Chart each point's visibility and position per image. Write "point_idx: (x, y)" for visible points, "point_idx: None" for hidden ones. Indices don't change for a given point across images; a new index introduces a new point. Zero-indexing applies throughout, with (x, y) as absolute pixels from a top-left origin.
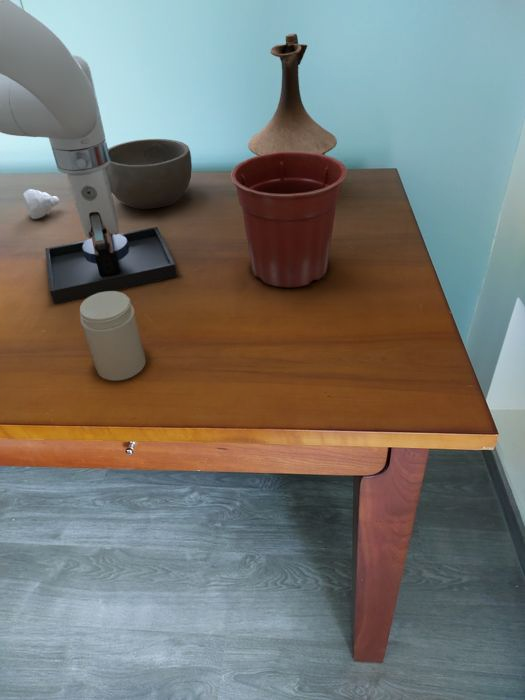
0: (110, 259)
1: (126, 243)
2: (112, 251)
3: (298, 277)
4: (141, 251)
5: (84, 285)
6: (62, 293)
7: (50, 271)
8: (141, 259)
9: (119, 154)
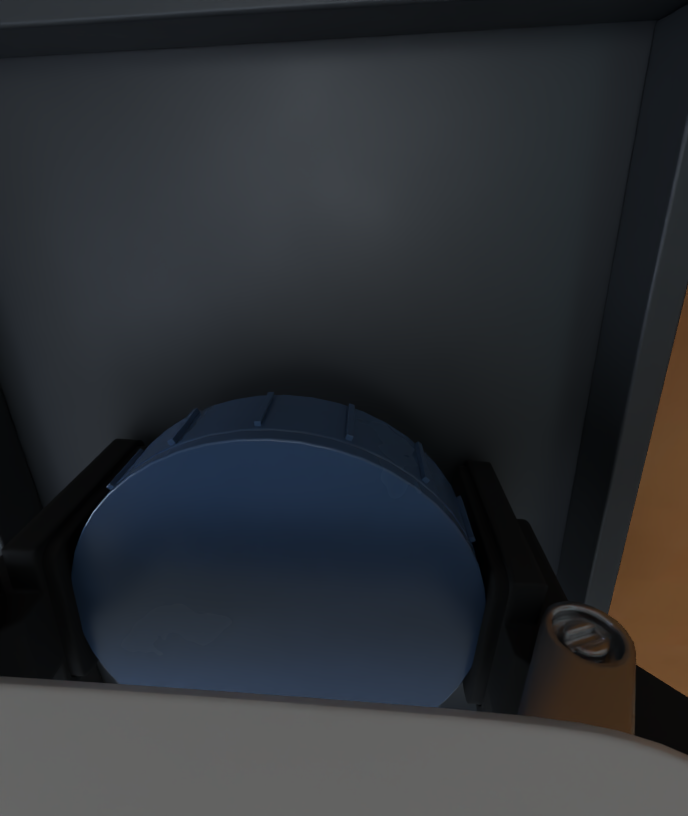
0: (560, 598)
1: (349, 451)
2: (627, 644)
3: None
4: (177, 258)
5: None
6: None
7: None
8: (310, 278)
9: None
